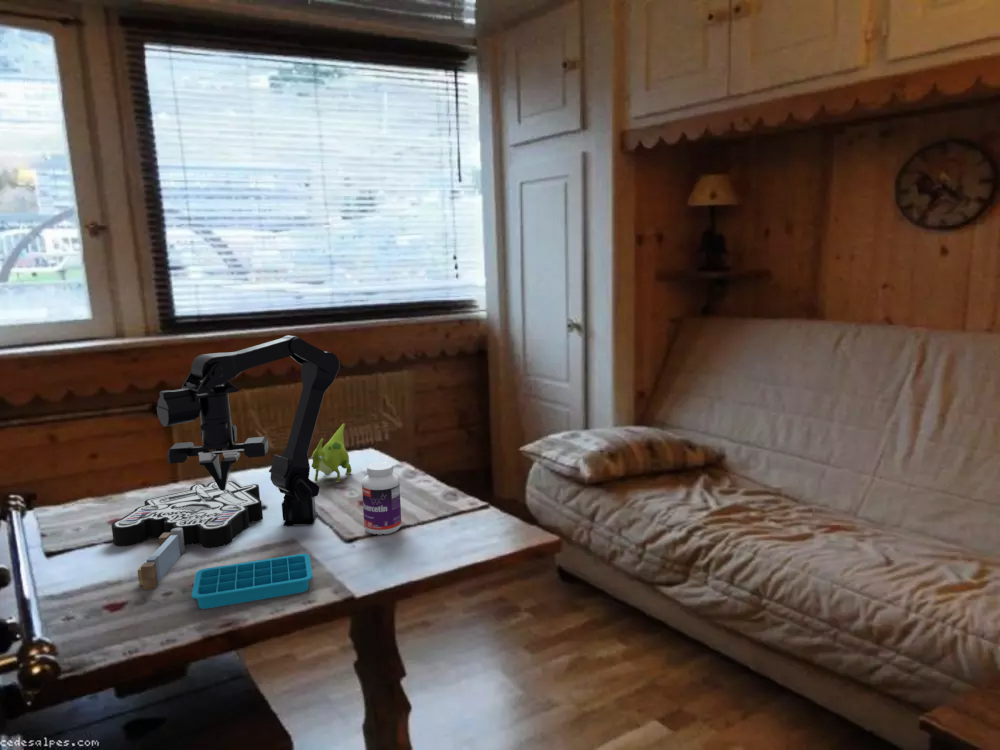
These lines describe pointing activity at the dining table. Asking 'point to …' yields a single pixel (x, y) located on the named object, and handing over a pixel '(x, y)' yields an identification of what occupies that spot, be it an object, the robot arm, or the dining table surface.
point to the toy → (331, 456)
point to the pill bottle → (381, 499)
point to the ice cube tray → (252, 581)
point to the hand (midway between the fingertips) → (223, 489)
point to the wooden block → (148, 576)
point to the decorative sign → (193, 515)
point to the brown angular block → (164, 538)
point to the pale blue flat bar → (168, 552)
